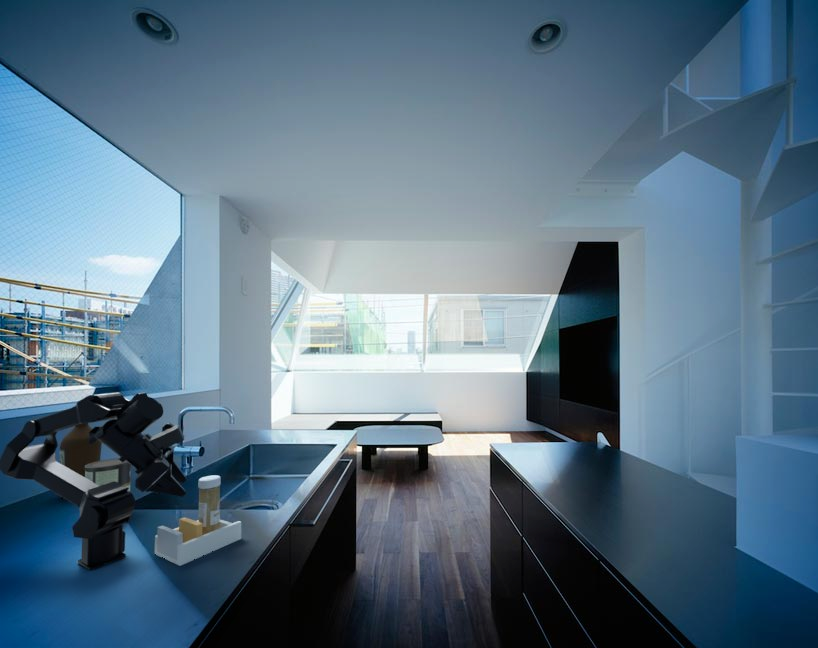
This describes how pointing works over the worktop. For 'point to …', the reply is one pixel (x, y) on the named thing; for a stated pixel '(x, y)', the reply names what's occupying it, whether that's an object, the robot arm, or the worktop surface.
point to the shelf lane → (194, 542)
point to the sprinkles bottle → (209, 503)
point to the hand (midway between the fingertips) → (184, 487)
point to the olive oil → (79, 449)
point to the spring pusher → (189, 529)
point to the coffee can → (109, 472)
